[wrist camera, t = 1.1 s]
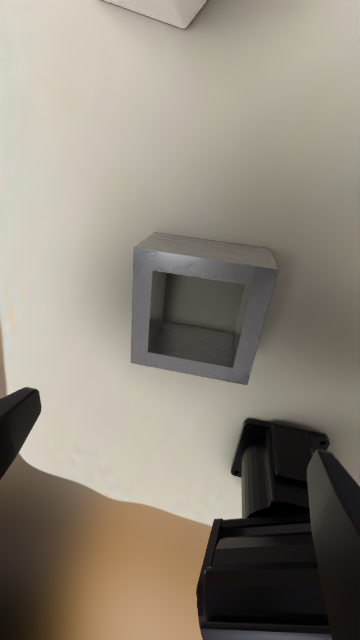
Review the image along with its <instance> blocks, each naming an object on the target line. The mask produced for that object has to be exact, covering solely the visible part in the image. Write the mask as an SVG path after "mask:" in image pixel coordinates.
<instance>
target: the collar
mask: <svg viewBox="0 0 360 640" xmlns="http://www.w3.org/2000/svg"><path fill="white" fill-rule="evenodd" d="M167 273H172V274H179V275H185V276H192V277H198V278H204V279H211V280H217V281H223V282H230V283H236V284H243V285H244V289H243V294H242V298H241V303H240V308H239V312H238V317H237V321H236V326H235V330H234V333H228V332H223V331H217V330H211V329H206V328H200V327H194V326H188V325H183V324H177V323H171V322H165V321H163V313H164V301H165V289H166V277H167ZM277 273H278V267H277V265H276V262H275V260H274V257H273V255H272V252H271V250H270V249H267V248H260V247H253V246H246V245H239V244H232V243H225V242H218V241H211V240H204V239H197V238H190V237H183V236H176V235H169V234H162V233H155V232H154V233H153V234H151V235H150V236H149V237H147V238H146V239H145V240H144V241H142V242H141V243H140V244H138V245H137V246H136V247H134V264H133V299H132V335H131V363H134V364H140V365H145V366H150V367H155V368H160V369H166V370H171V371H176V372H181V373H186V374H192V375H197V376H202V377H207V378H212V379H218V380H223V381H228V382H233V383H239V384H244V385H247V383H248V380H249V376H250V372H251V369H252V365H253V361H254V358H255V354H256V350H257V347H258V343H259V339H260V336H261V332H262V328H263V324H264V321H265V317H266V313H267V310H268V306H269V302H270V299H271V295H272V291H273V288H274V284H275V280H276V276H277Z"/></svg>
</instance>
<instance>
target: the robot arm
mask: <svg viewBox="0 0 360 640" xmlns="http://www.w3.org/2000/svg"><path fill="white" fill-rule="evenodd" d="M40 412H41V401H40V395H39V391H38V390H37V389H34V388H29V387H25V388H22V389H20V390H18V391H16V392H14V393H12V394H10V395H8V396H5V397H3V398H1V399H0V480H1V478H2V477H3V475H4V474H5V472H6V471H7V469H8V468H9V467H10V465H11V464H12V462H13V461H14V459H15V458H16V456H17V454H18V453H19V451H20V449H21V447H22V446H23V444H24V442H25V440H26V438H27V437H28V435H29V433H30V431H31V429H32V428H33V426H34V424H35V422H36V420H37V419H38V417H39V415H40ZM329 444H330V442H329V439H328V437H327V436H326V435H324V434H319V433H314V432H310V431H305V430H300V429H295V428H290V427H285V426H280V425H275V424H270V423H265V422H261V421H256V420H246V421H245V422H244V424H243V427H242V431H241V434H240V438H239V441H238V445H237V448H236V452H235V455H234V458H233V462H232V465H231V473H232V475H234V476H238V477H241V478H242V518H239V519H228V520H223V519H214V522H213V526H212V530H211V533H210V537H209V541H208V545H207V549H206V553H205V557H204V561H203V565H202V569H201V573H200V577H199V581H198V585H197V591H196V594H197V608H198V618H199V625H200V630H201V634H202V638H203V640H360V486H359V485H358V484H357V483H356V481H355V480H354V479H353V478H352V477H351V475H350V474H349V473H348V472H347V471H346V469H345V468H344V467H343V466H342V465H341V463H340V462H339V461H338V460H337V459H336V457H335V456H334V455H333V454H332V453H331V452H328V451H326V450H327V448H328V446H329Z"/></svg>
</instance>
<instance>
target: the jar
mask: <svg viewBox="0 0 360 640" xmlns="http://www.w3.org/2000/svg"><path fill="white" fill-rule="evenodd" d="M104 1H107V2H110V3H113V4H115V5H118V6H121V7H124V8H126V9H129V10H132V11H135V12H137V13H140V14H143V15H146V16H149V17H151V18H154V19H157V20H160V21H162V22H165V23H168V24H171V25H173V26H176V27H179V28H182V29H184V28H186V27H187V26H188V25H189V23H190V22H191V21H192V20H193V18H194V17H195V16H196V14H197V13H198V12H199V10H200V9H201V8H202V7H203V5H204V4H205V3H206V1H207V0H104Z"/></svg>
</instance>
